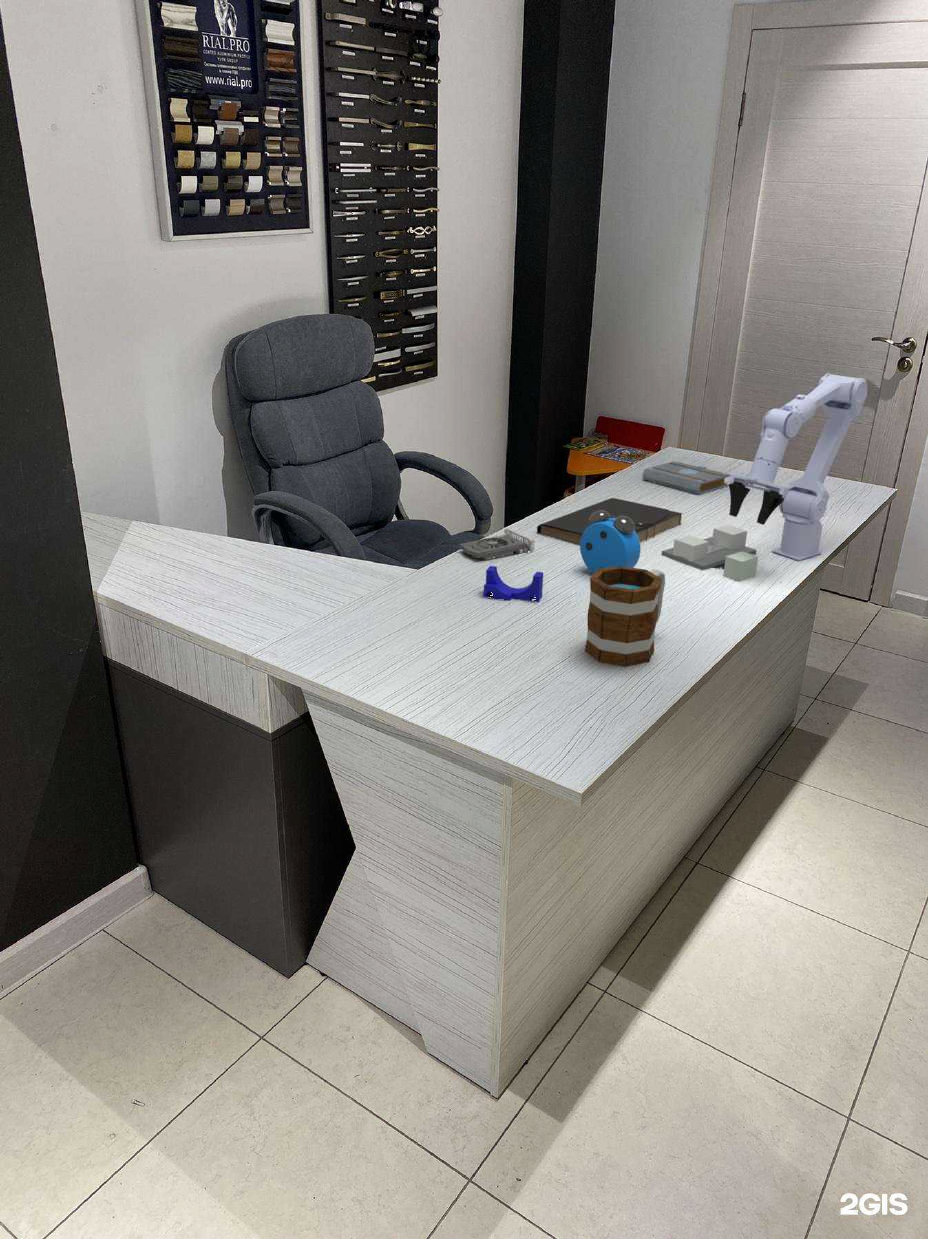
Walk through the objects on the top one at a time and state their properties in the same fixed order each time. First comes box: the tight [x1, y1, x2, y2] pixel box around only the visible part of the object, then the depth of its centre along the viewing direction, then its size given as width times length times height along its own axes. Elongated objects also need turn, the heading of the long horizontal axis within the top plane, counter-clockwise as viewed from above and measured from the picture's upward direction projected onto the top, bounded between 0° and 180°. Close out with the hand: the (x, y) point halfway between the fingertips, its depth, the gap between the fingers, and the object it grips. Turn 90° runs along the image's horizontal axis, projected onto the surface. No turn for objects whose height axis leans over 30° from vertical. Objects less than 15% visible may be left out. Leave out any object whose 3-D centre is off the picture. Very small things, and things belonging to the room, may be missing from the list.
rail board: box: [661, 536, 758, 571], centre depth 235 cm, size 20×13×1 cm, turn 127°
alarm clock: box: [579, 510, 641, 574], centre depth 218 cm, size 13×6×15 cm, turn 47°
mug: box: [584, 566, 666, 668], centre depth 183 cm, size 20×14×15 cm
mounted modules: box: [672, 524, 748, 562], centre depth 234 cm, size 20×6×4 cm, turn 127°
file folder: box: [536, 497, 683, 546], centre depth 252 cm, size 33×4×24 cm
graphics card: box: [459, 528, 536, 560], centre depth 235 cm, size 17×4×12 cm
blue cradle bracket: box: [483, 565, 544, 603], centre depth 207 cm, size 12×4×6 cm, turn 72°
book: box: [642, 460, 732, 496], centre depth 294 cm, size 21×16×5 cm
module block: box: [722, 551, 759, 583], centre depth 221 cm, size 6×4×5 cm
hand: (746, 519), depth 217 cm, fingers open, 7 cm apart
